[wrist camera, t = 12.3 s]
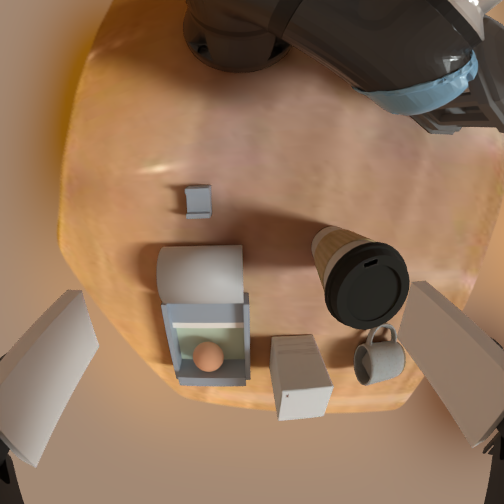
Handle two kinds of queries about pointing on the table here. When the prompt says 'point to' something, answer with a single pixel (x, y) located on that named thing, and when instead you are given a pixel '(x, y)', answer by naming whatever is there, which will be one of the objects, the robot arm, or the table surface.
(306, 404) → the supplement box
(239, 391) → the table surface
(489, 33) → the lantern
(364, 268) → the coffee cup
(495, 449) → the robot arm
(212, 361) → the ball
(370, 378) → the ceramic mug
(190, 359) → the grey molded pieces
